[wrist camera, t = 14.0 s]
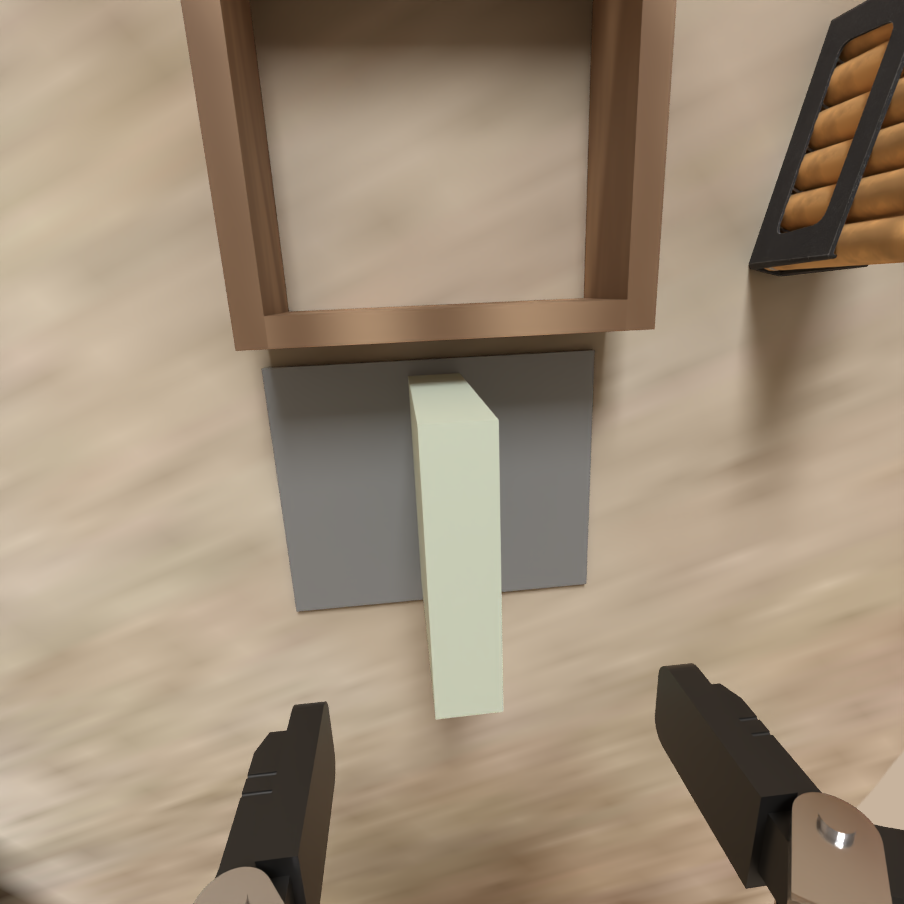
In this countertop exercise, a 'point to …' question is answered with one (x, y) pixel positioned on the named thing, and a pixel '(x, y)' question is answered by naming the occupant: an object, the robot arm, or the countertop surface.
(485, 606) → the pale green rectangular block
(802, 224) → the ammunition clip
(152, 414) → the countertop surface
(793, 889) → the robot arm
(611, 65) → the walnut box
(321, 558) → the rubber mat
